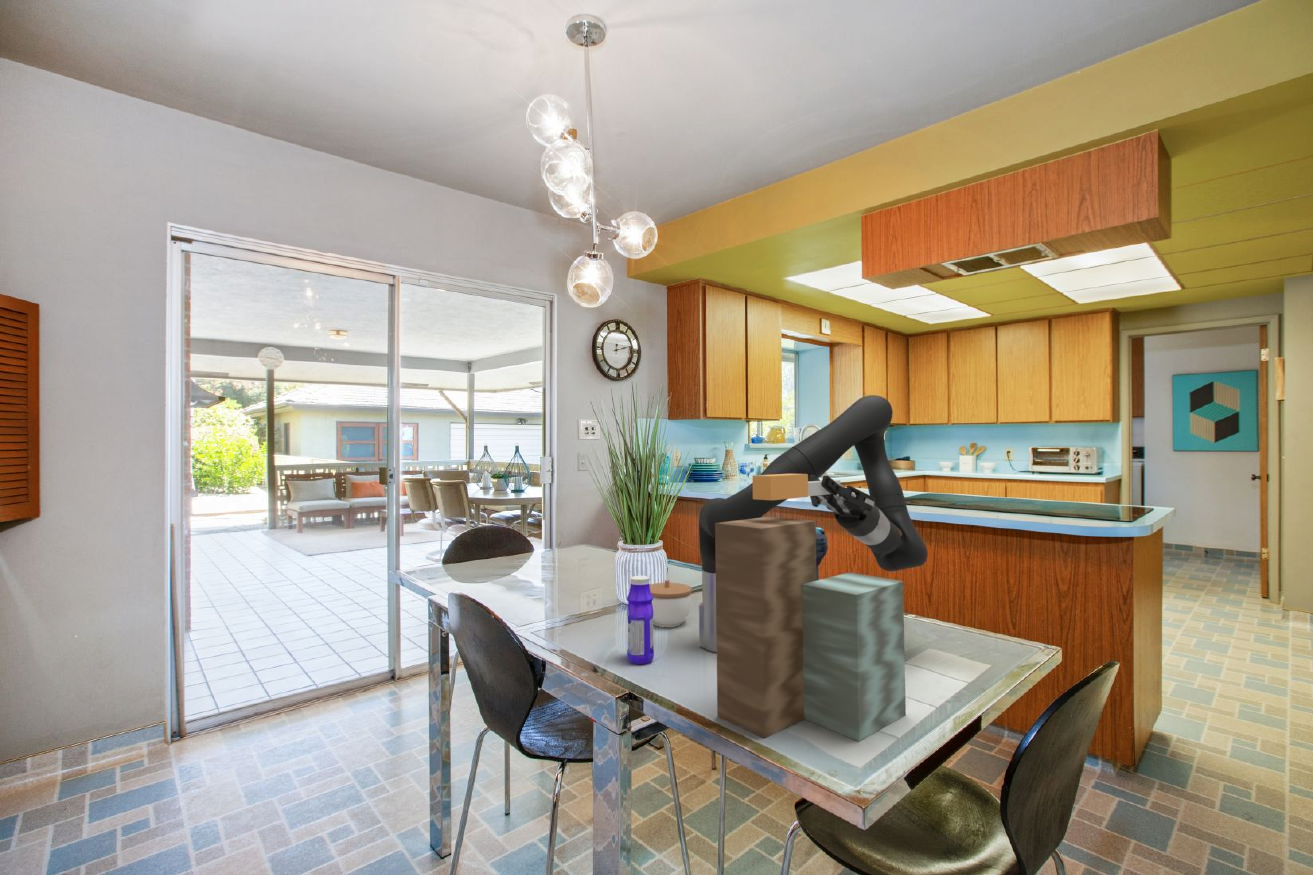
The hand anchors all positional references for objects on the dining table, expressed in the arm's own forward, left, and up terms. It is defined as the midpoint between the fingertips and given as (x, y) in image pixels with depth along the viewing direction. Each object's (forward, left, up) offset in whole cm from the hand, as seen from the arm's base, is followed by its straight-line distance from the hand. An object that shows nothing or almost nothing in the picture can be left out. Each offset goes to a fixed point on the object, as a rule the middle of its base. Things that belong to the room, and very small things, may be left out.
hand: (817, 479), depth 110 cm
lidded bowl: (-46, +24, -39) cm, 65 cm away
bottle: (-38, -2, -39) cm, 54 cm away
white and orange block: (-2, -5, -3) cm, 6 cm away
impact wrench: (-14, +42, -39) cm, 59 cm away
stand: (+1, -11, -39) cm, 40 cm away
